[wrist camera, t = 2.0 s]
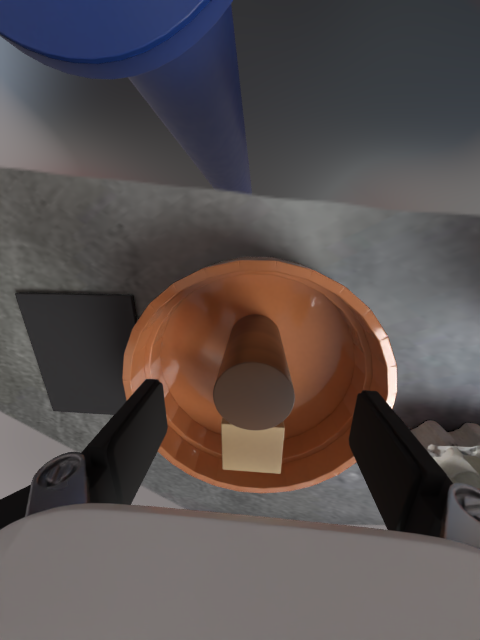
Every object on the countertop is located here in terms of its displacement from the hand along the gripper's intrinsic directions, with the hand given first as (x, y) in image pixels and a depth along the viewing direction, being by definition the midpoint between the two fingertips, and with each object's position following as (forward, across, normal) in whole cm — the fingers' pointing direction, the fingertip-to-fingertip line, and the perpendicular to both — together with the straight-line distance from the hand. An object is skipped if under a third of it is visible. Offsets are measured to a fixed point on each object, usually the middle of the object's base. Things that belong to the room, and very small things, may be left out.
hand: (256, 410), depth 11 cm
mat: (+8, +15, +2) cm, 17 cm away
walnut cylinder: (+8, 0, -1) cm, 8 cm away
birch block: (+8, 0, +5) cm, 9 cm away
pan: (+8, 0, +2) cm, 9 cm away
